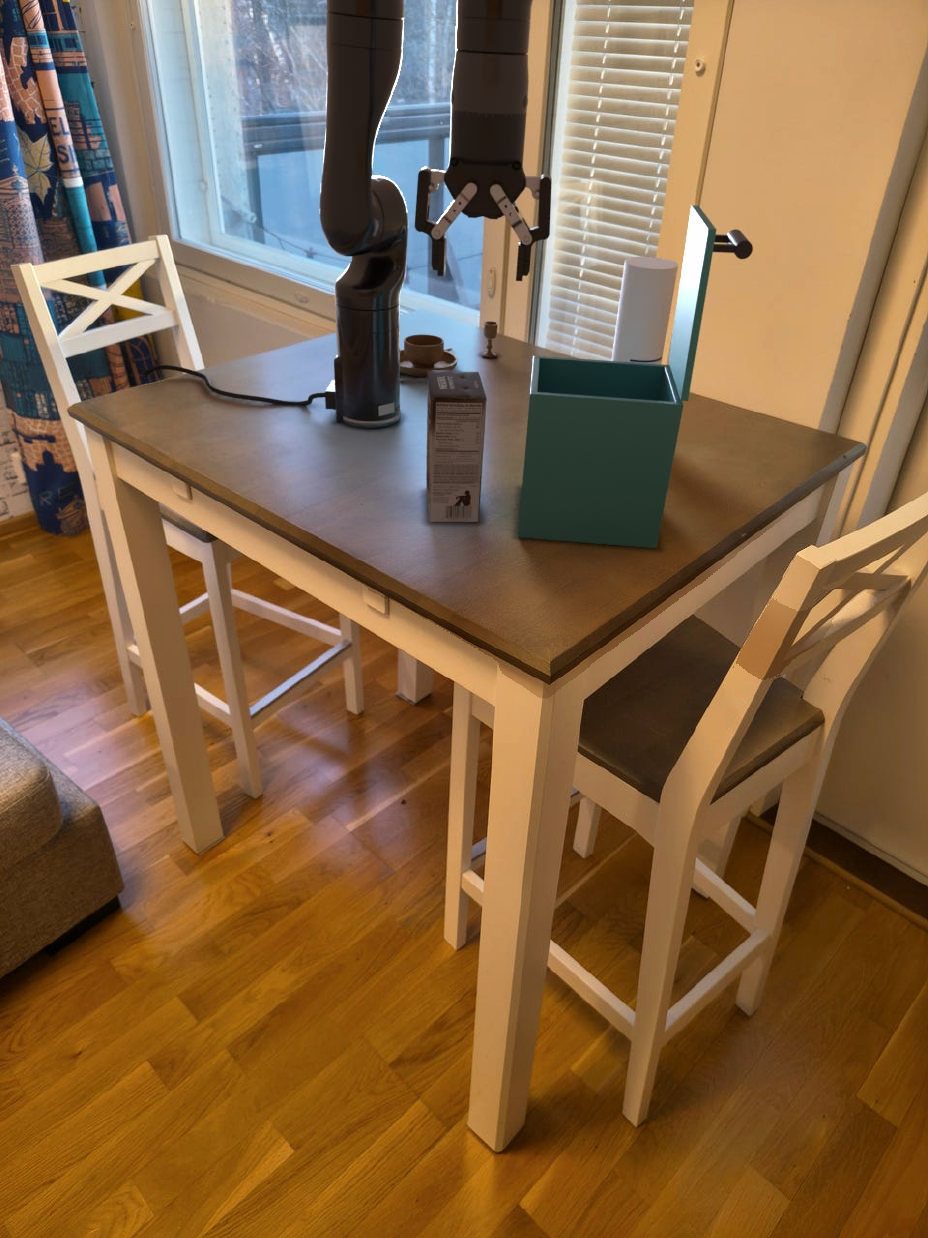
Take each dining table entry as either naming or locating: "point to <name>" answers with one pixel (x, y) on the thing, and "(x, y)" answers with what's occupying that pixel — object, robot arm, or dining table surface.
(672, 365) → the cool box lid
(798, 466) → the dining table surface
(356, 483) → the dining table surface
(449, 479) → the coffee box
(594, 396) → the teal open box
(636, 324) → the cylindrical container
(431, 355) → the place setting
